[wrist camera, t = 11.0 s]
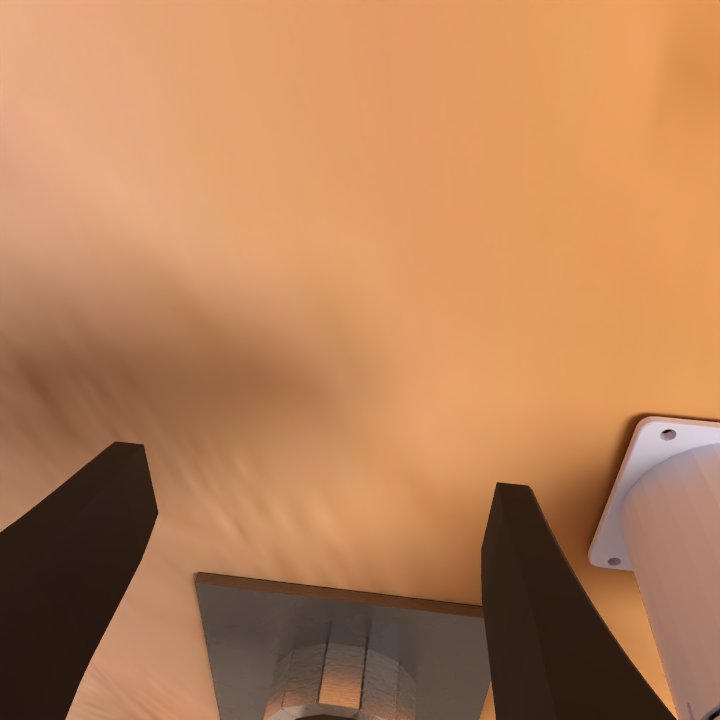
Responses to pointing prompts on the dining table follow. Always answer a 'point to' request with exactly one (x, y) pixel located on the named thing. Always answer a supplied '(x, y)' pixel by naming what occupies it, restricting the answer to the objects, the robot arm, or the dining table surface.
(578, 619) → the robot arm
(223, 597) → the socket
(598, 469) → the dining table surface
